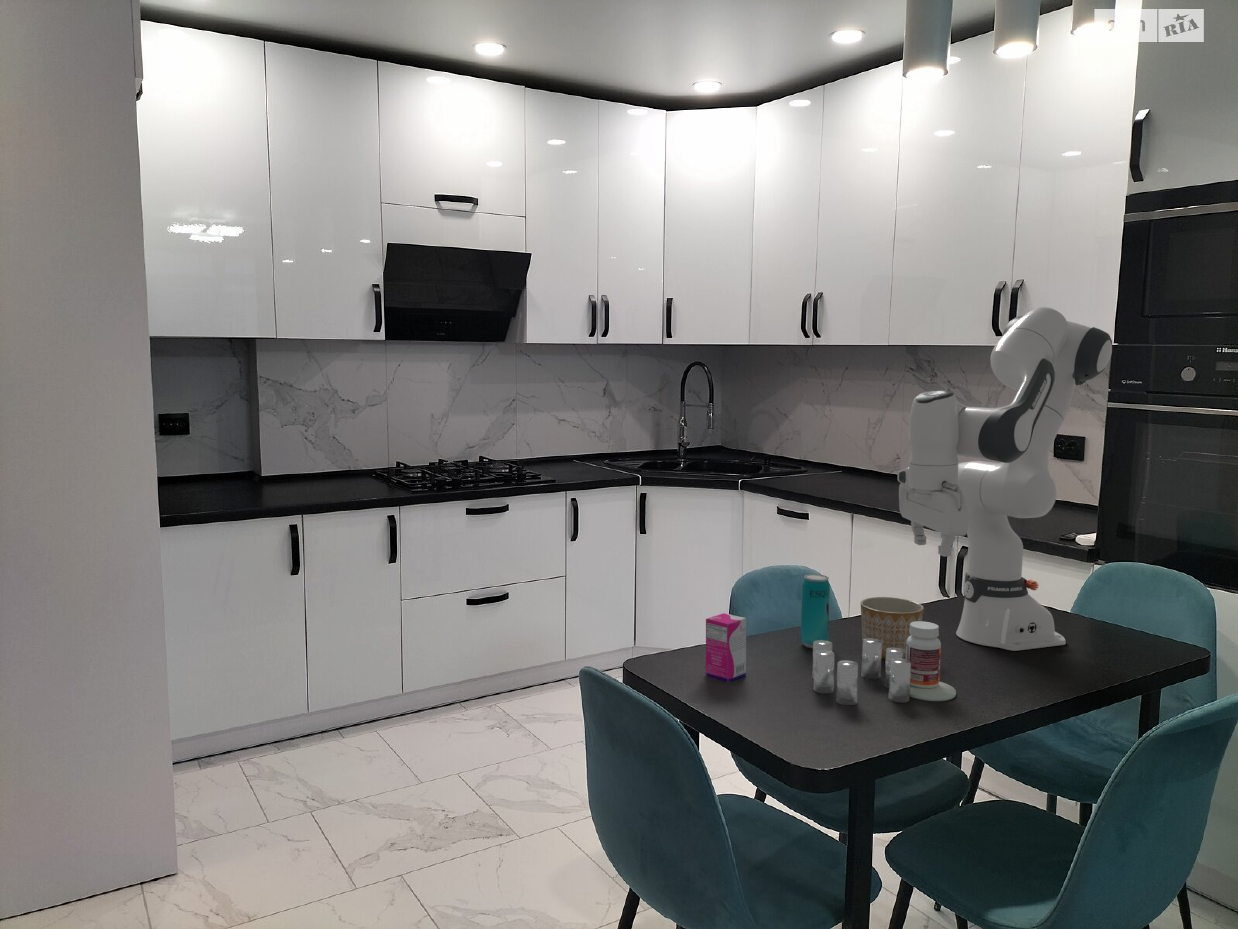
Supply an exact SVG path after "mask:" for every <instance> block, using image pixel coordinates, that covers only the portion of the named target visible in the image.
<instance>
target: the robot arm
mask: <svg viewBox="0 0 1238 929" xmlns="http://www.w3.org/2000/svg"><path fill="white" fill-rule="evenodd" d="M1112 353H1113V340H1112V337H1111V336H1110V334H1109V333H1108V332H1106V331H1104V330H1102V329H1100V328H1098V327H1093V326H1092V327H1089V326H1086V325H1083V324H1080V323H1076V322H1072V321H1069V320H1067V318H1066V317H1065V316H1064V315H1063V314H1062V313H1061V312H1059V311H1058V310H1057V309H1054V308H1052V307H1044V306H1043V307H1042V306H1041V307H1036V308H1033V309H1031V310H1030V311H1028V312H1026V313H1025V314H1024V315H1020V316H1019V315H1017V316H1016V317H1014V318H1013V319H1011V320H1010V321H1009V322H1008V323H1007V324H1006V326H1005V328H1004V329H1003V333H1002V335H1001V337H1000V339H999V340H998V341H997V342H996V344H995V345H994V347H993V349H992V351H991V354H990V361H989V362H990V367H991V370H992V372H993V375H995V377H996V378H997V379H998V381H999V382H1000V383H1001V384H1003V385H1004V386H1005V387H1007V388H1010V389H1011V390H1015V391H1017V393H1016V394H1015V395H1014V397H1013V400H1012V401H1011V403H1010V404H1008V405H1005V406H999V407H980V406H978V407H977V406H969V405H968V406H967V405H965V404H964V403H961V402H960V401H959V400H957V396H956V394H955V393H954V392H953V391H950V390H945V389H943V390H940V389H939V390H932V391H925V392H922V393H919V394H918V395H917V396H915V397H914V399H913V400H912V404H911V406H910V414H909V424H908V425H909V427H908V441H909V445H910V455H909V458H908V467H905V468H904V469H901V470H899V471H897V474H896V475H897V481H898V482H899V486H898V507H899V508H898V509H899V513H900V515H901V517H902V518H904V519H907V520H908V521H910V527H911V530H912V533H913V539H914V540H913V542H914V544H916V545H917V546H925V545H927V535H925V529H924V527H925V528H929V529H931V530H934V531H935V532H938V533H940V539H941V543H940V545H938V546H937V547H938V548H937V553H938V555H939V556H941V557H944V558H945V557H950V556H952V547H953V544H954V542H955V540H956V537H962V536H963V537H964V536H966V535H967V545H968V547H967V548H968V549H967V572H965V573H964V574H965V575H964V584H963V585H964V586H963V587H964V588H963V593H964V594H963V595H964V602H963V609H962V613H961V618H960V621H959V625H958V627H957V630H956V632H955V634H956V636H957V637H958V638H959V639H962V640H963V641H966V642H969V643H973V644H977V645H980V646H985V647H986V646H987V647H991V648H1000V649H1003V650H1007V651H1013V652H1016V651H1025V650H1032V649H1041V648H1047V647H1048V648H1050V647H1057V646H1064V645H1066V639H1065V637H1064V636H1063V635H1062V634H1060V633H1059V632H1057V631H1055V628H1056V627H1055V620H1054V616H1053V614H1052V613H1051V612H1050V611H1049V610H1048V609H1047V608H1046V607H1044V606H1043V605H1042V603H1040V602H1038V601H1037V600H1036V599H1035V598H1034V597H1033V596H1031V595H1030V594H1029V590H1028V589H1030V590H1031V591H1037V590H1038V588H1039V586H1040V585H1039V583H1038V582H1037V581H1035V580H1033V579H1028V580H1027V579H1026V578H1025V577H1023V576H1022V575H1023V574H1022V572H1023V556H1024V554H1023V553H1024V545H1023V541H1022V539H1021V537H1020V536H1019V535H1018V534H1017V533H1016V532H1015V531H1014V530H1013V528H1012V525H1010V522H1009V519H1008V517H1013V518H1018V519H1030V518H1032V519H1034V518H1035V519H1036V518H1041V517H1043V516H1045V515H1047V514H1048V513H1049V512H1050V511H1051V510H1052V509H1053V507H1054V505H1055V503H1056V499H1057V487H1056V484H1055V481H1054V479H1053V478H1052V476H1051V475H1050V472H1049V468H1048V464H1049V463H1048V462H1049V461H1048V460H1049V455H1050V451H1051V450H1052V447H1053V444H1054V442H1055V439H1056V438H1057V434H1058V433H1059V430H1060V429H1061V426H1062V425H1063V422H1064V420H1065V419H1066V416H1067V414H1068V411H1069V409H1070V406H1071V403H1072V399H1073V397H1074V394H1075V390H1076V386H1081V385H1083V384H1085V383H1086V382H1087V381H1089V380H1090V381H1091V380H1093V379H1095V378H1096V377H1097V376H1099V375H1100V374H1102V373H1103V371H1105V368H1106V367H1107V365H1108V363H1109V362H1110V361H1111V360H1110V359H1111V357H1112ZM958 457H964V458H965V457H966V458H972V459H973V458H974V459H981V460H970V461H965V462H964V461H963V462H959V458H958ZM982 459H984V460H982ZM985 460H989V461H985ZM992 461H995V462H992ZM998 462H999V463H998Z"/></svg>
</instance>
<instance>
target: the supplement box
mask: <svg viewBox="0 0 1238 929" xmlns="http://www.w3.org/2000/svg"><path fill="white" fill-rule="evenodd" d="M705 675H706V676H708V677H711V678H714V679H717V680H720V681H723V682H726V683H730V682H733V681H735V680H738V679H740V678H743V677H745V676H747V618H746V617H742V616H737V615H733V614H729V613H725V612H723V613H720V614H716V615H714V616H711V617H708V618H706V619H705Z"/></svg>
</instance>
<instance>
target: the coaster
mask: <svg viewBox="0 0 1238 929" xmlns="http://www.w3.org/2000/svg"><path fill="white" fill-rule="evenodd" d="M956 695H957V690H956V689H955V688H954V687H953V686H951V685H950V684H948V683H946V682H943V681H939V685H938V686H937V687H935V688H918V687H914V686H911V685H910V697H909V698H913V699H917V700H921V701H927V702H946V701H951V700H952V699H955V697H956Z"/></svg>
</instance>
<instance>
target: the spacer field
mask: <svg viewBox="0 0 1238 929" xmlns="http://www.w3.org/2000/svg"><path fill="white" fill-rule="evenodd" d="M881 654H882V641H881V640H878V639H873V638H867V639H863V640H862V651H861V675H860V676H861V677H862V678H863V679H867V680H880V678H881V677H882V676H881V673H882V672H881V671H882V659H881ZM835 656H836V654H835V652H833V643H832V642H831V641H828V640H827V641H825V640H817V641H814V642H813V648H812V672H811V675H812V676H811V677H812V680H813V691H814V692H816V693H819V694H832V693H833V692H834V685H835V684H834V683H835V679H834V678H835ZM836 665H837V666H836V668H837V670H836V693H835V694H836V697H835V702H836V703H837V704H839V705H843V706H854V705H857V703H858V685H859V684H858V681H859V663H858V662H856V661H854V660H853V661H852V660H839V661H837V664H836ZM884 665H885V666H884V667H885V669H884V687H885V688H886V689H888V699H889V700H890V701H892V702H895V703H901V704H902V703H908V702H909V701H910V698H911V697H910V675H911V661H909V660H906V650H904V649H901V648H887V649H886V659H885V664H884Z"/></svg>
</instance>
